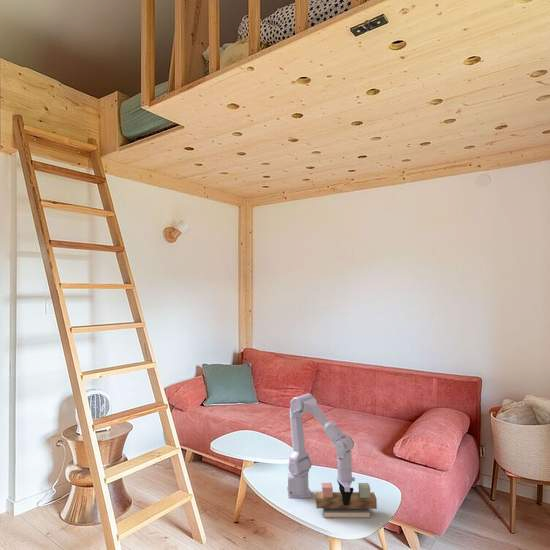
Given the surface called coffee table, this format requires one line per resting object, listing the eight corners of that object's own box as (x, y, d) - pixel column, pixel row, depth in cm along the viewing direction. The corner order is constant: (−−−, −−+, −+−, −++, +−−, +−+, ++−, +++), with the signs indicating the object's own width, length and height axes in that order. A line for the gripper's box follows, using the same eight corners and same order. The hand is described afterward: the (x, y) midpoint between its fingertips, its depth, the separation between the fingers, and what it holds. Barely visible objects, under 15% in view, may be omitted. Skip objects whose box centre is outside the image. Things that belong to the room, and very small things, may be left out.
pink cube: (322, 497, 162) (322, 487, 162) (321, 492, 166) (321, 482, 166) (332, 497, 162) (332, 487, 162) (331, 492, 166) (331, 482, 166)
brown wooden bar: (316, 508, 161) (316, 498, 162) (315, 501, 166) (315, 492, 166) (376, 508, 160) (376, 498, 160) (374, 502, 165) (373, 492, 165)
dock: (324, 517, 160) (324, 512, 160) (322, 507, 167) (322, 502, 167) (369, 517, 159) (369, 512, 159) (366, 507, 166) (366, 503, 166)
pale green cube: (360, 497, 161) (360, 487, 161) (358, 492, 165) (358, 482, 165) (370, 497, 161) (370, 487, 161) (368, 492, 165) (368, 482, 165)
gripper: (357, 475, 157) (358, 511, 156) (351, 460, 171) (352, 492, 170) (339, 475, 157) (340, 511, 156) (335, 460, 171) (335, 492, 171)
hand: (345, 501), depth 163 cm, fingers closed on brown wooden bar, 5 cm apart
